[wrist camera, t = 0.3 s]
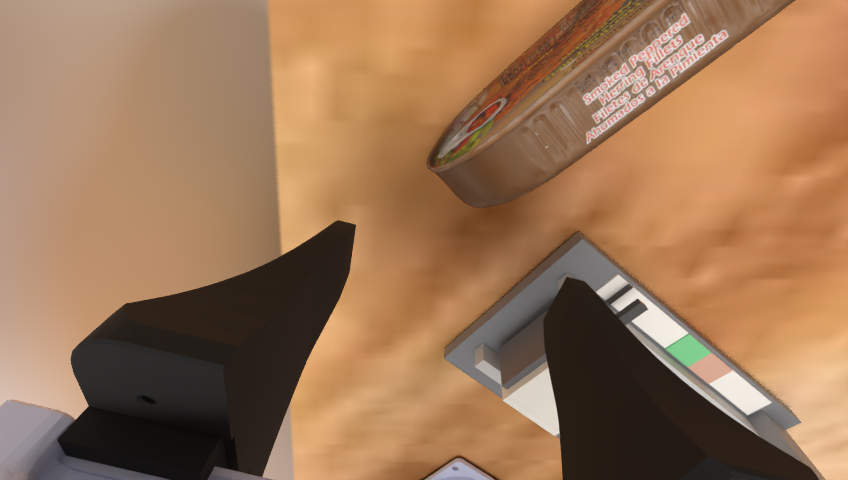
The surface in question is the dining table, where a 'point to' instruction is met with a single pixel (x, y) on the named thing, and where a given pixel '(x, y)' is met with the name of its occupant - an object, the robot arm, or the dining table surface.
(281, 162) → the dining table surface
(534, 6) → the dining table surface
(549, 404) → the slider
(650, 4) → the tin
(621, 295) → the gauge rail
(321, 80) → the dining table surface
